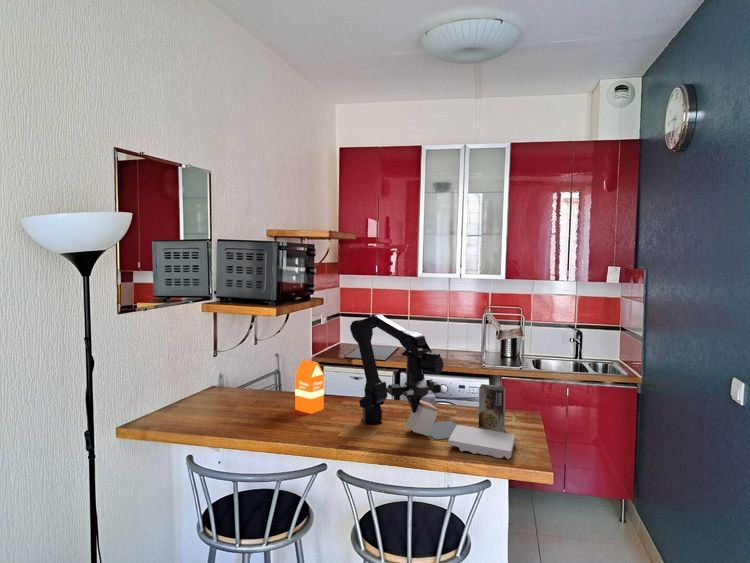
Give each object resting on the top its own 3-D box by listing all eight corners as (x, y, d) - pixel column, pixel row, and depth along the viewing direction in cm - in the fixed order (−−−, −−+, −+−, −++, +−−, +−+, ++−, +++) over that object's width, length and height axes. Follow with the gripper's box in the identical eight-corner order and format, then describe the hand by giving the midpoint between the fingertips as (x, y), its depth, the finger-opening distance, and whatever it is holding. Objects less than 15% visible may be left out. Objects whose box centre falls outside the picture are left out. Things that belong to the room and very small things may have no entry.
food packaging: (514, 443, 176) (456, 433, 182) (514, 434, 175) (457, 424, 182) (510, 461, 161) (447, 449, 168) (510, 451, 161) (448, 440, 168)
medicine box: (434, 415, 204) (435, 394, 203) (434, 419, 200) (435, 397, 199) (414, 414, 205) (415, 393, 204) (414, 418, 200) (415, 396, 200)
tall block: (414, 432, 179) (424, 404, 180) (406, 424, 187) (415, 398, 187) (429, 436, 181) (438, 409, 182) (420, 428, 189) (429, 402, 189)
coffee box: (504, 428, 190) (506, 385, 189) (503, 434, 184) (504, 390, 183) (479, 425, 193) (481, 383, 192) (477, 431, 187) (478, 387, 186)
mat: (435, 440, 177) (435, 439, 177) (417, 424, 193) (417, 424, 193) (471, 436, 182) (471, 435, 182) (450, 421, 197) (450, 421, 197)
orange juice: (308, 405, 215) (308, 358, 214) (323, 409, 210) (324, 361, 208) (294, 409, 208) (295, 361, 207) (310, 413, 203) (311, 364, 202)
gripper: (397, 376, 172) (397, 421, 172) (448, 372, 177) (447, 417, 178) (387, 368, 182) (386, 412, 183) (435, 366, 188) (434, 408, 189)
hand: (413, 412), depth 183 cm, fingers closed
